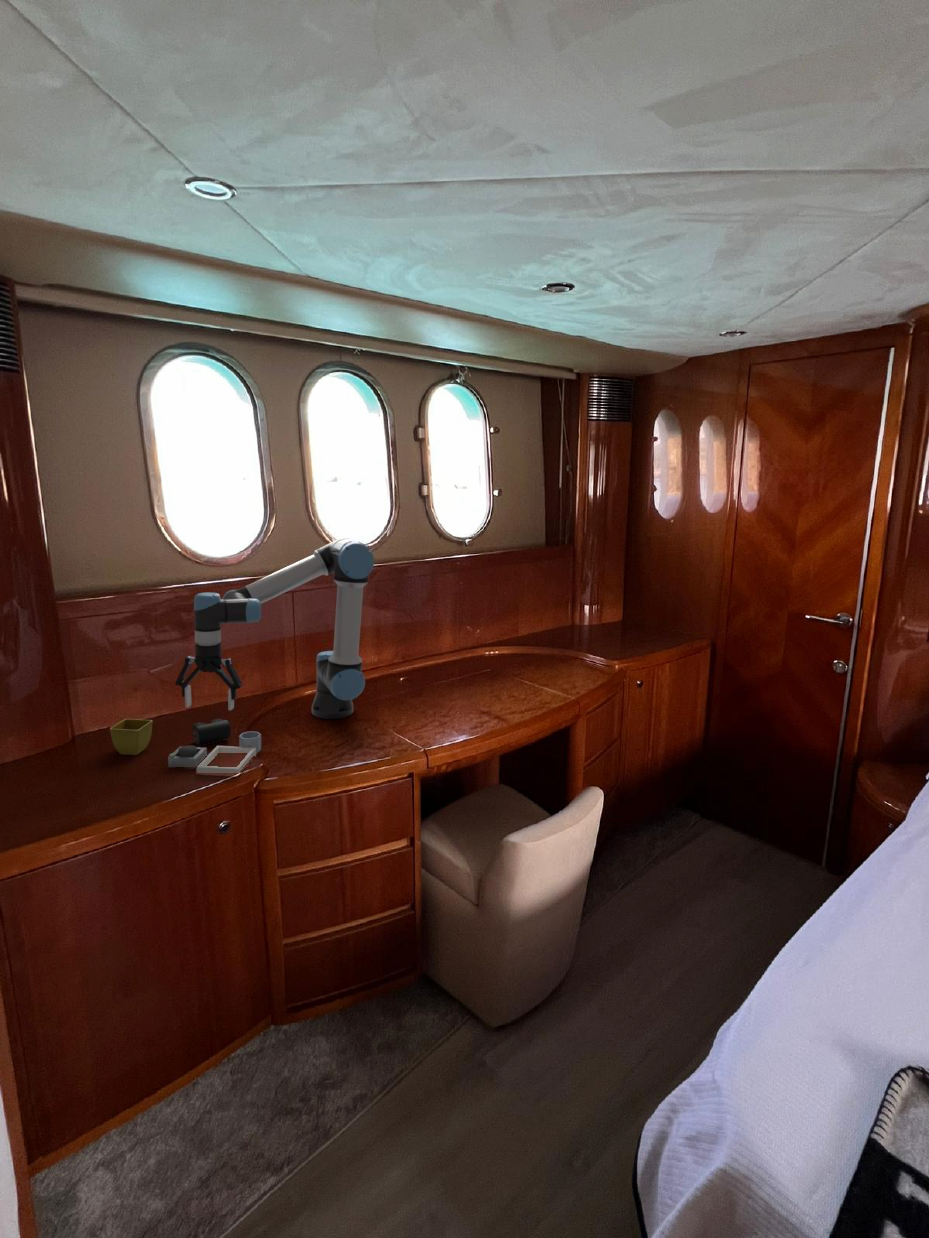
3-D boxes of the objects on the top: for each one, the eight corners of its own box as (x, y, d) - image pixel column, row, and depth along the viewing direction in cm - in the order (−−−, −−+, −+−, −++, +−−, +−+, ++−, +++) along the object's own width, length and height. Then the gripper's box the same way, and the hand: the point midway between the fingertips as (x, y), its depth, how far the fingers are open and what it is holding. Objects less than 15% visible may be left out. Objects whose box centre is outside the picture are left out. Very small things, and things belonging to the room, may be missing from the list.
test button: (199, 754, 191) (199, 745, 190) (192, 761, 186) (192, 752, 185) (183, 753, 191) (182, 745, 190) (175, 760, 186) (175, 751, 185)
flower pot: (127, 745, 198) (125, 718, 196) (154, 746, 198) (153, 719, 196) (110, 757, 189) (108, 728, 187) (139, 758, 189) (137, 730, 187)
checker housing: (207, 756, 192) (206, 745, 192) (195, 768, 185) (195, 757, 184) (180, 755, 192) (180, 744, 192) (168, 767, 185) (167, 755, 184)
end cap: (200, 749, 197) (199, 729, 196) (191, 742, 202) (190, 722, 201) (231, 742, 204) (231, 722, 203) (222, 735, 209) (222, 716, 208)
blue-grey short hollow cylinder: (263, 746, 202) (262, 731, 201) (256, 754, 196) (256, 739, 195) (244, 745, 202) (243, 730, 201) (237, 753, 196) (237, 738, 195)
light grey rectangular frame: (256, 755, 195) (256, 747, 195) (238, 777, 181) (238, 769, 180) (217, 753, 195) (217, 745, 195) (196, 775, 181) (196, 766, 180)
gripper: (252, 642, 200) (253, 705, 204) (173, 637, 200) (175, 701, 204) (244, 648, 193) (244, 714, 197) (162, 643, 193) (164, 709, 197)
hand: (209, 707), depth 201 cm, fingers open, 13 cm apart
